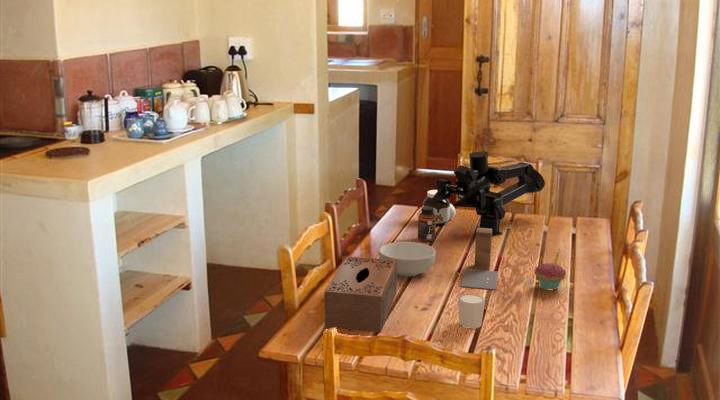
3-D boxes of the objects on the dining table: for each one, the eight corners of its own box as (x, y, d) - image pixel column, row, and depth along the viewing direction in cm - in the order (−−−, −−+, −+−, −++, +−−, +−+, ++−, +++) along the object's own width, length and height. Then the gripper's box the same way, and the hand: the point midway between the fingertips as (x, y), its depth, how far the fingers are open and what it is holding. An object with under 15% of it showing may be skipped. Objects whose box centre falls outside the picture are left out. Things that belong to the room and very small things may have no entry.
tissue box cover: (346, 289, 212) (346, 256, 209) (396, 293, 209) (397, 260, 207) (324, 328, 188) (324, 291, 185) (380, 333, 185) (381, 296, 182)
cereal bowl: (442, 267, 228) (443, 245, 226) (423, 286, 214) (424, 263, 212) (391, 258, 235) (391, 237, 233) (369, 276, 221) (370, 254, 219)
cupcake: (565, 284, 216) (568, 245, 213) (562, 295, 208) (566, 255, 205) (535, 280, 219) (538, 241, 215) (531, 291, 211) (534, 251, 208)
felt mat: (464, 269, 227) (464, 268, 226) (498, 272, 224) (498, 271, 224) (460, 286, 213) (460, 285, 213) (495, 290, 211) (495, 289, 211)
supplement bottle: (434, 243, 250) (435, 210, 247) (416, 241, 251) (417, 209, 248) (436, 237, 256) (437, 205, 252) (418, 236, 257) (419, 204, 254)
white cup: (454, 318, 193) (455, 293, 191) (480, 317, 194) (481, 293, 192) (459, 330, 186) (461, 304, 184) (486, 329, 187) (488, 303, 185)
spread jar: (420, 225, 268) (421, 194, 265) (423, 216, 279) (424, 186, 276) (454, 227, 267) (455, 196, 263) (455, 218, 277) (457, 187, 274)
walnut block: (475, 264, 231) (477, 227, 228) (490, 265, 230) (492, 228, 227) (474, 269, 227) (476, 232, 223) (489, 270, 226) (491, 233, 222)
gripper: (451, 158, 252) (420, 173, 243) (495, 167, 239) (464, 184, 230) (453, 188, 256) (423, 204, 247) (497, 199, 243) (467, 217, 234)
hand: (443, 202), depth 239 cm, fingers open, 9 cm apart
